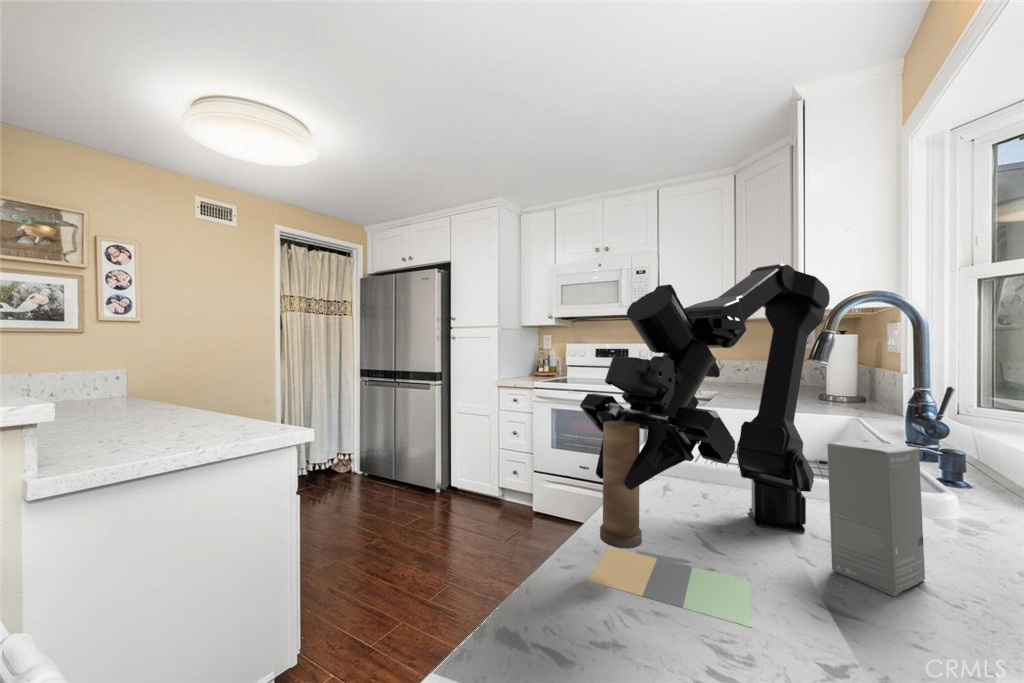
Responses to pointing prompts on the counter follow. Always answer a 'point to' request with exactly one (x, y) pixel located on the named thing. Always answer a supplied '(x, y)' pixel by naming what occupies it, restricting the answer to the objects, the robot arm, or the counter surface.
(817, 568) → the counter surface
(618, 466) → the walnut peg
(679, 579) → the striped board
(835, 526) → the skincare box
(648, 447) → the robot arm
